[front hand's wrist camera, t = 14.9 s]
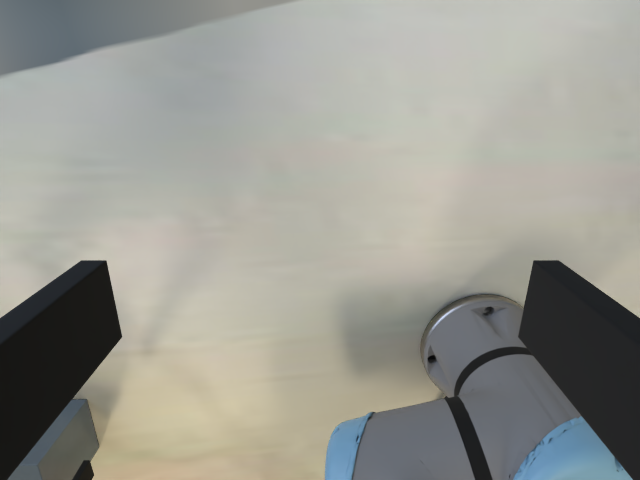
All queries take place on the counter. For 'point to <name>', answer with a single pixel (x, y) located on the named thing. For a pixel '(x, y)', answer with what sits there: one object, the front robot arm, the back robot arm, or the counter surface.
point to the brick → (61, 446)
